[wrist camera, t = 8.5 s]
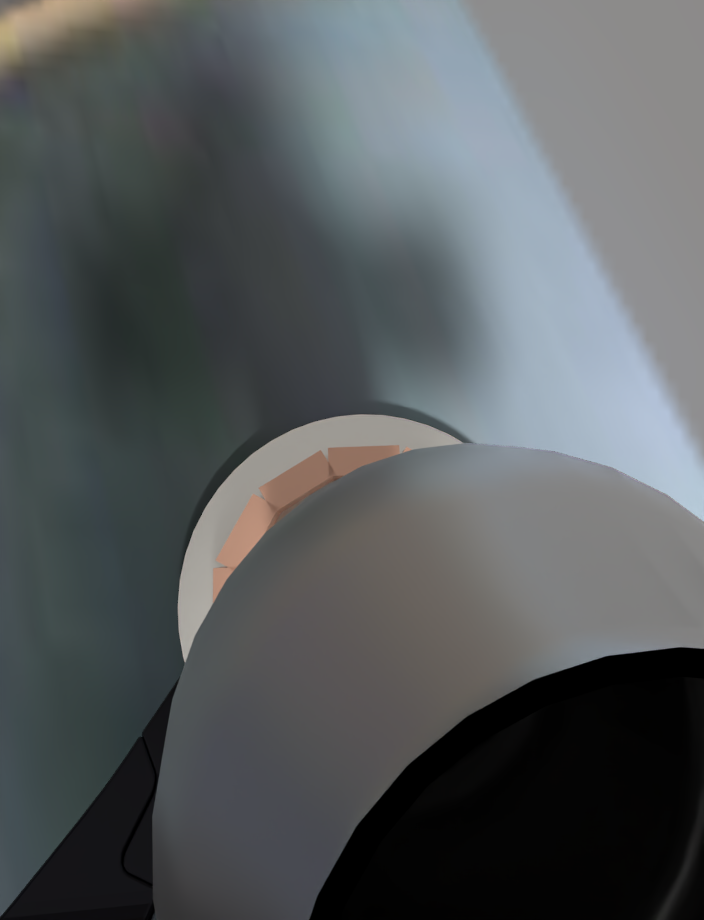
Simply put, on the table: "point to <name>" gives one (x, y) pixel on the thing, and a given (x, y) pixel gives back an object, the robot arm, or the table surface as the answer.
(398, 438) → the white orange plate
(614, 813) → the plastic bottle
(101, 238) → the table surface
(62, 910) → the robot arm
